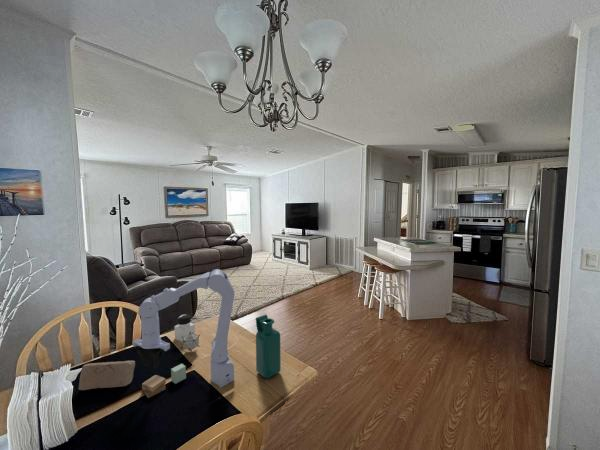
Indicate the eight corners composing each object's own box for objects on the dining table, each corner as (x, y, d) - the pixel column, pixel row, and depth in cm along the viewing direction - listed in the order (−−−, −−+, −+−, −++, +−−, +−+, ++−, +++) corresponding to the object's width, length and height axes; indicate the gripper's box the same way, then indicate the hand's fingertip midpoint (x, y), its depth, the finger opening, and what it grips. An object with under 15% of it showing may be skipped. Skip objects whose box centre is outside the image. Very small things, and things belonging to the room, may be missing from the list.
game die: (204, 347, 127) (203, 327, 126) (195, 357, 118) (194, 336, 117) (186, 346, 127) (186, 326, 127) (177, 356, 119) (176, 335, 118)
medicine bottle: (195, 337, 136) (194, 315, 135) (182, 343, 130) (182, 320, 129) (187, 333, 140) (186, 312, 139) (174, 339, 134) (173, 317, 133)
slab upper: (165, 383, 99) (165, 378, 99) (152, 392, 94) (152, 387, 94) (155, 379, 101) (155, 374, 101) (142, 388, 96) (141, 383, 96)
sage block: (186, 378, 104) (185, 366, 104) (175, 384, 100) (174, 371, 100) (182, 375, 106) (181, 363, 105) (171, 381, 102) (171, 369, 102)
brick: (135, 359, 104) (131, 362, 100) (132, 382, 102) (127, 386, 98) (87, 362, 100) (81, 365, 96) (83, 386, 98) (76, 391, 94)
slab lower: (165, 391, 97) (165, 386, 97) (147, 399, 93) (147, 394, 93) (159, 383, 102) (159, 378, 101) (142, 391, 97) (142, 386, 97)
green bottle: (282, 371, 108) (282, 320, 106) (265, 380, 102) (265, 326, 101) (269, 360, 115) (268, 313, 114) (252, 368, 110) (252, 318, 108)
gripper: (175, 327, 98) (176, 362, 99) (143, 324, 101) (144, 357, 102) (161, 337, 91) (162, 373, 92) (127, 332, 94) (129, 368, 95)
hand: (152, 366), depth 97 cm, fingers open, 4 cm apart
